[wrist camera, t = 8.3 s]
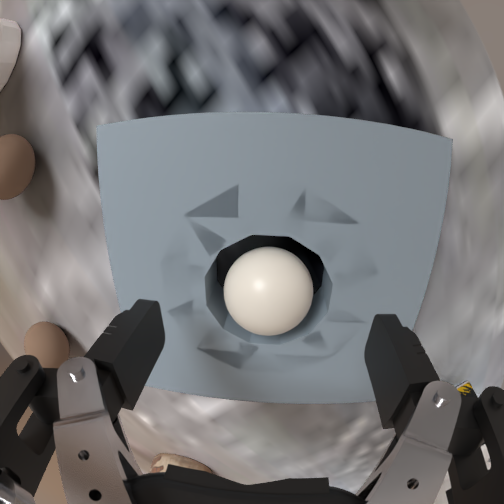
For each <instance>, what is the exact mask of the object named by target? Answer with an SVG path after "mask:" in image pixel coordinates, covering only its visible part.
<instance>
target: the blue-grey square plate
mask: <svg viewBox="0 0 504 504" xmlns="http://www.w3.org/2000/svg"><path fill="white" fill-rule="evenodd" d="M452 143H453V139H450V138H447V137H443V136H439V135H435V134H431V133H427V132H423V131H418V130H414V129H409V128H404V127H399V126H394V125H389V124H383V123H377V122H371V121H364V120H357V119H350V118H342V117H333V116H323V115H312V114H298V113H278V112H214V113H194V114H180V115H169V116H159V117H150V118H142V119H135V120H128V121H121V122H115V123H109V124H104V125H98V126H97V156H98V173H99V185H100V196H101V205H102V214H103V222H104V229H105V236H106V242H107V248H108V254H109V260H110V265H111V270H112V275H113V280H114V285H115V289H116V294H117V298H118V302H119V307H120V311H121V313H122V312H123V311H125V310H130V309H131V307H132V306H133V305H134V304H135V302H136V301H137V300H138V299H146V300H154V301H158V302H159V304H160V308H161V314H162V319H163V325H164V330H165V344H164V348H163V350H162V352H161V354H160V356H159V358H158V360H157V362H156V364H155V366H154V368H153V370H152V372H151V374H150V376H149V378H148V380H147V382H146V384H145V386H149V387H154V388H159V389H164V390H169V391H174V392H180V393H186V394H192V395H199V396H206V397H213V398H221V399H230V400H240V401H252V402H266V403H288V404H336V403H357V402H372V401H376V399H375V395H374V392H373V388H372V384H371V381H370V377H369V374H368V370H367V367H366V364H365V359H364V351H365V346H366V342H367V339H368V336H369V332H370V329H371V326H372V322H373V319H374V316H375V315H376V314H396V315H397V317H398V319H399V320H400V322H401V324H402V326H403V327H408V328H409V329H410V330H411V331H412V330H413V328H414V325H415V322H416V319H417V316H418V313H419V310H420V308H421V304H422V301H423V298H424V295H425V292H426V288H427V285H428V282H429V278H430V275H431V271H432V267H433V263H434V259H435V255H436V251H437V247H438V242H439V238H440V233H441V228H442V223H443V218H444V212H445V206H446V200H447V193H448V186H449V178H450V168H451V157H452ZM250 235H269V236H289V237H291V238H293V239H294V240H296V241H297V242H299V243H301V244H302V245H304V246H305V247H307V248H308V249H310V250H312V251H313V252H315V253H316V254H318V255H319V256H320V258H321V260H322V262H323V264H324V272H323V279H322V286H321V287H320V288H319V290H318V291H317V292H316V293H315V294H314V296H313V298H312V303H311V306H310V309H309V311H308V313H307V314H306V316H305V317H304V319H303V320H302V321H301V322H300V323H299V324H298V325H297V326H295V327H294V328H293V329H291V330H289V331H287V332H285V333H282V334H279V335H272V336H264V335H258V334H254V333H252V332H249V331H247V330H246V329H244V328H243V327H241V326H240V325H239V324H238V323H237V322H236V321H235V320H234V319H233V318H232V316H231V315H230V313H229V311H228V309H227V307H226V304H225V300H224V290H223V288H222V287H221V285H220V284H219V282H218V281H217V264H216V257H217V255H218V253H219V252H220V250H222V249H224V248H226V247H228V246H230V245H232V244H234V243H236V242H238V241H240V240H242V239H244V238H246V237H248V236H250Z"/></svg>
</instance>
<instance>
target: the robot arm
mask: <svg viewBox="0 0 504 504" xmlns="http://www.w3.org/2000/svg"><path fill="white" fill-rule="evenodd" d="M164 344H165V330H164V325H163V319H162V314H161V308H160V304H159V302H158V301H154V300H146V299H138V300H137V301H136V302H135V304H134V305H133V306H132V307H131V309H130V310H125V311H123V312H122V313H120V314H118V315H117V316H115V318H114V319H113V320H112V321H111V323H110V324H109V327H108V326H107V328H106V329H105V330H104V333H102V334H101V335H100V337H99V338H98V339H97V340H96V342H95V343H94V344H93V346H92V347H91V348H90V350H89V351H88V352H87V353H86V355H85V356H84V357H74V358H71V359H68V360H67V361H65V362H64V363H63V364H62V365H61V366H60V367H59V368H42V366H41V364H40V362H39V360H38V359H37V358H36V357H35V356H33V355H23V356H20V357H18V358H17V359H15V360H14V361H13V362H12V363H11V364H10V366H9V367H8V368H7V369H6V371H5V372H4V373H3V374H2V376H1V377H0V504H35V501H34V498H33V497H34V495H35V493H36V490H37V488H38V486H39V483H40V481H41V479H42V476H43V474H44V472H45V470H46V467H47V465H48V463H49V461H50V459H51V457H52V455H53V453H54V451H55V449H56V452H57V459H58V464H59V469H60V474H61V479H62V483H63V488H64V492H65V496H66V499H67V503H68V504H433V503H434V501H435V499H436V497H437V495H438V493H439V490H440V488H441V486H442V483H443V481H444V478H445V476H446V473H447V471H448V474H449V479H450V483H451V488H452V494H453V499H454V504H504V390H502V389H501V388H498V387H493V386H492V387H488V388H486V389H485V390H484V391H483V392H482V394H481V395H480V397H479V398H477V397H466V396H461V395H460V393H459V391H458V390H457V389H456V387H454V386H453V385H452V384H450V383H448V382H445V381H440V379H439V377H438V375H437V373H436V371H435V369H434V367H433V365H432V363H431V361H430V359H429V358H428V356H427V354H425V350H424V348H423V346H421V343H420V341H419V339H418V337H417V335H416V334H415V333H414V332H412V331H411V330H410V329H409V328H408V327H403V326H402V324H401V322H400V320H399V319H398V317H397V315H396V314H376V315H375V316H374V319H373V322H372V326H371V329H370V332H369V336H368V339H367V342H366V346H365V351H364V359H365V364H366V367H367V370H368V374H369V377H370V381H371V384H372V388H373V392H374V395H375V399H376V403H377V407H378V410H379V414H380V418H381V422H382V426H383V429H389V428H395V432H396V434H395V435H394V437H393V438H392V440H391V442H390V444H389V445H388V447H387V449H386V450H385V452H384V454H383V456H382V457H381V459H380V461H379V462H378V464H377V465H376V467H375V469H374V470H373V472H372V473H371V475H370V476H369V478H368V479H367V480H366V482H365V483H364V484H363V485H362V486H361V488H360V489H359V490H358V492H357V493H356V494H353V493H351V492H349V491H346V490H343V489H340V488H336V487H331V486H329V479H328V478H299V479H291V478H289V479H284V480H278V481H273V482H267V483H260V484H253V485H244V484H240V483H237V482H234V481H231V480H228V479H225V478H222V477H220V476H217V475H214V474H212V473H209V472H207V471H201V470H196V469H190V468H185V467H181V466H176V465H171V464H168V466H167V469H166V472H156V473H148V474H143V473H142V471H141V469H140V468H139V466H138V464H137V462H136V460H135V458H134V456H133V453H132V451H131V448H130V445H129V443H128V440H127V437H126V434H125V431H124V428H123V425H122V422H121V419H120V417H119V415H118V413H119V411H120V409H121V407H122V408H125V409H129V410H132V411H133V409H134V407H135V405H136V402H137V400H138V398H139V396H140V394H141V392H142V390H143V388H144V386H145V384H146V382H147V380H148V378H149V376H150V374H151V372H152V370H153V368H154V366H155V364H156V362H157V360H158V358H159V356H160V354H161V352H162V350H163V348H164ZM28 406H29V407H30V408H31V410H32V411H33V413H32V415H31V416H30V418H29V420H28V421H27V423H26V425H25V427H24V428H23V430H22V432H21V433H20V435H19V436H18V434H17V430H16V427H17V424H18V422H19V420H20V418H21V417H22V415H23V414H24V412H25V410H26V409H27V407H28ZM484 442H485V444H486V447H487V450H488V453H489V456H490V459H491V468H490V471H489V473H488V469H487V466H486V462H485V459H484V456H483V453H482V450H481V447H480V446H481V445H482V444H483V443H484Z"/></svg>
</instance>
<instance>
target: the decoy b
mask: <svg viewBox="0 0 504 504" xmlns="http://www.w3.org/2000/svg"><path fill="white" fill-rule="evenodd" d="M24 348H25V352H26V355H33V356H35V357H36V358H37V359H38V360H39V362H40V364H41V366H42V368H59V367H60V366H61V365H62V364H63V363H64V362H65V361H67V360H68V358H69V353H70V348H69V342H68V339H67V337H66V335H65V334H64V332H63V331H62V330H61V329H60V328H59V327H58V326H56V325H55V324H52V323H50V322H39V323H36V324H34V325H33V326H31V327H30V329H29V330H28V331H27V333H26V336H25V340H24Z"/></svg>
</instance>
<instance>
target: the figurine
mask: <svg viewBox="0 0 504 504" xmlns="http://www.w3.org/2000/svg"><path fill="white" fill-rule="evenodd" d="M168 464H171V465H176V466H181V467H185V468H190V469H196V470H201V471H207V472H209V473H212V472H211V470H210V469H209V468H208V467H207V466H205V465H204V464H202V463H200V462H198V461H195V460H193V459H190V458H187V457H183V456H179V455H175V454H167V453H161V454H158V455H157V456H155V458H154V459H153V462H152V465H151V469H150V473H156V472H166V469H167V466H168Z"/></svg>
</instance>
